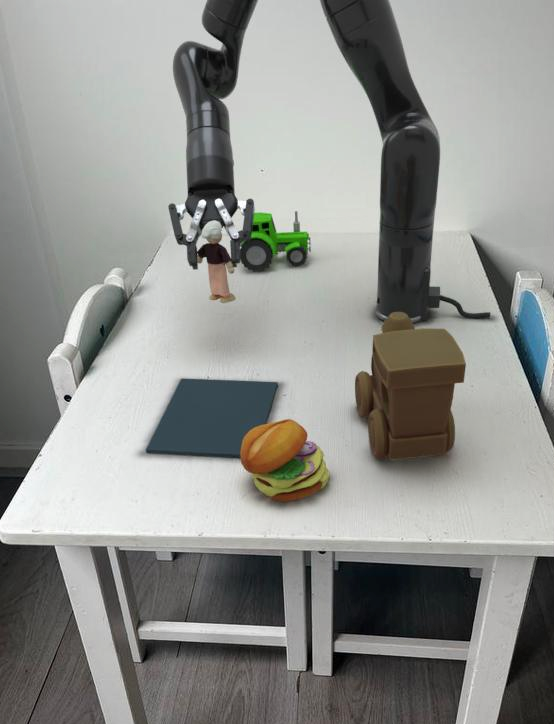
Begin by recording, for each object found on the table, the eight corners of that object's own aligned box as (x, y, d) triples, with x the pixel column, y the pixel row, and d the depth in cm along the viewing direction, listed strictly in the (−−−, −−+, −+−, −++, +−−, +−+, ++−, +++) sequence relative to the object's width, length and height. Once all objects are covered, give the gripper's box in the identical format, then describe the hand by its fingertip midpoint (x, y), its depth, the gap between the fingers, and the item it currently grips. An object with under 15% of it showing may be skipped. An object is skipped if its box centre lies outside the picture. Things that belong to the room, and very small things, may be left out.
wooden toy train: (460, 470, 100) (474, 361, 89) (376, 479, 99) (381, 370, 89) (422, 393, 115) (431, 292, 105) (350, 400, 115) (351, 300, 104)
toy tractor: (311, 270, 155) (310, 222, 149) (234, 273, 156) (229, 225, 150) (310, 250, 164) (309, 204, 158) (237, 253, 164) (233, 207, 158)
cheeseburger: (325, 510, 94) (304, 447, 88) (248, 517, 98) (222, 458, 92) (336, 462, 102) (317, 401, 96) (264, 470, 105) (242, 412, 100)
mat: (277, 385, 119) (277, 381, 119) (255, 458, 104) (255, 455, 103) (181, 381, 122) (181, 378, 121) (146, 453, 106) (145, 449, 106)
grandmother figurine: (245, 296, 122) (239, 219, 114) (234, 306, 120) (227, 228, 112) (205, 289, 125) (196, 214, 117) (193, 299, 122) (183, 222, 114)
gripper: (161, 156, 115) (165, 259, 114) (253, 150, 115) (258, 253, 113) (169, 180, 123) (173, 278, 121) (255, 175, 123) (261, 273, 121)
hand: (214, 266), depth 117 cm, fingers closed on grandmother figurine, 5 cm apart
